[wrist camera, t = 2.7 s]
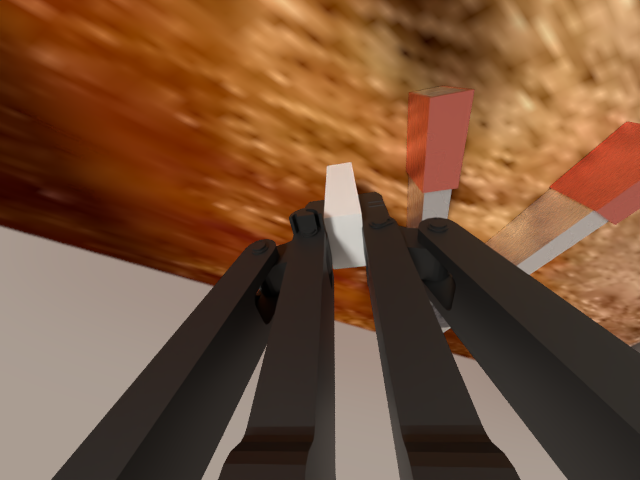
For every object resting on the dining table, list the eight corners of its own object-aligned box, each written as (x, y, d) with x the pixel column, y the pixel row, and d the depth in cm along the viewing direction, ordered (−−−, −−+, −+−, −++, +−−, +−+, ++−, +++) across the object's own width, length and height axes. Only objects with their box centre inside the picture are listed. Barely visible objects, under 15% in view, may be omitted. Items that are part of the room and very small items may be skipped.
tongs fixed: (428, 306, 26) (445, 345, 22) (392, 291, 25) (403, 329, 21) (643, 137, 15) (742, 157, 12) (598, 95, 14) (692, 103, 10)
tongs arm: (423, 276, 23) (437, 307, 20) (402, 278, 23) (413, 309, 20) (442, 85, 14) (474, 89, 11) (408, 92, 14) (430, 97, 11)
